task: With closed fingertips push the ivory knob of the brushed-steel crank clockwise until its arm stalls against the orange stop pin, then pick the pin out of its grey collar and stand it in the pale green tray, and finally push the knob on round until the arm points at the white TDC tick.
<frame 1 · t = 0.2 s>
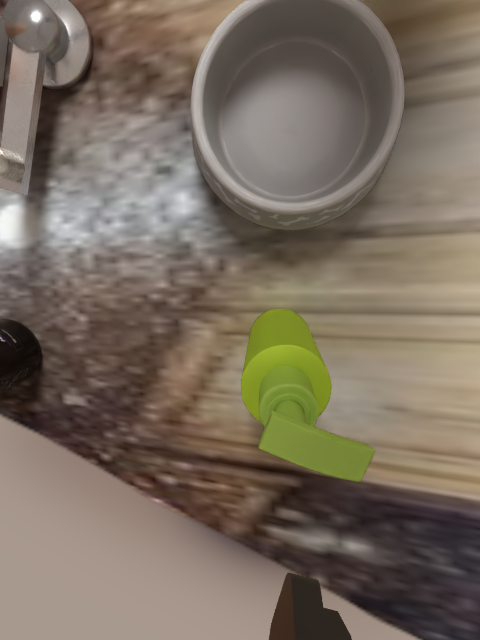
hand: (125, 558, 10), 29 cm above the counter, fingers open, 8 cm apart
dog bowl: (291, 125, 34), on the counter
supplement bottle: (12, 348, 40), on the counter
crank flange: (54, 45, 34), on the counter
soap dispenser: (284, 339, 38), on the counter
crank: (4, 88, 29), point 5 cm above the counter, hinge at 0.0°
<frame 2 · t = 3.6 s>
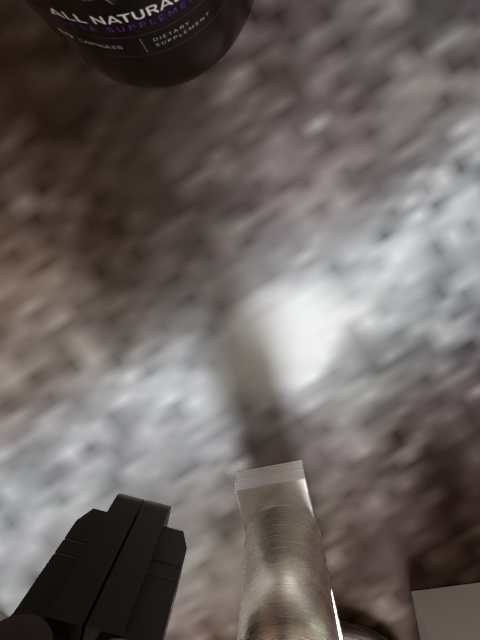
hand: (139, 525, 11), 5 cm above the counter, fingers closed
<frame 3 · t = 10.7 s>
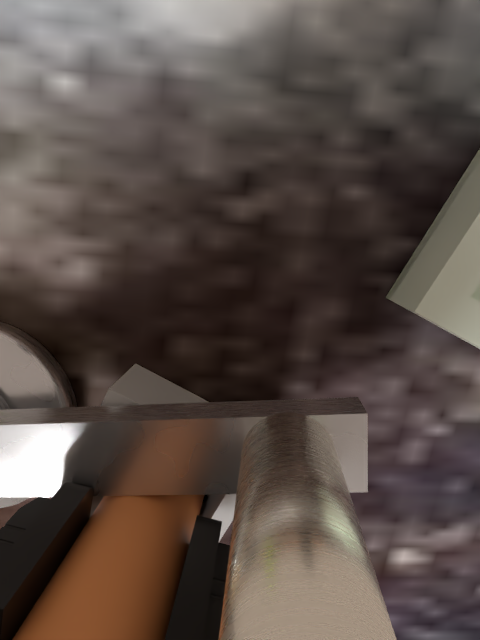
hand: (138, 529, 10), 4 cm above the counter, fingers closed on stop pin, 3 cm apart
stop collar: (169, 454, 14), on the counter
crank: (43, 507, 8), point 5 cm above the counter, hinge at 58.1°, touching gripper
stop pin: (109, 606, 9), in the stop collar, touching gripper
when the fingers open (6 cm above the counter, at t = 15.2 s): stop pin drops 1 cm, resting on tray.
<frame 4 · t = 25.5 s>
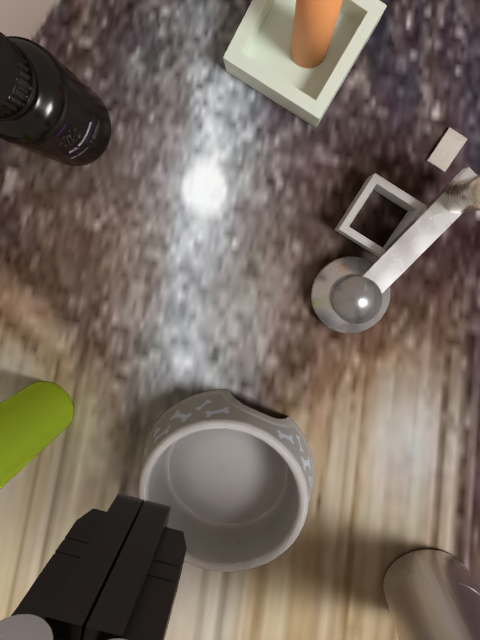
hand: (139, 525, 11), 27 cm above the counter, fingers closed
dog bowl: (228, 466, 41), on the counter
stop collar: (375, 219, 34), on the counter
supplement bottle: (78, 127, 34), on the counter
crank flange: (348, 294, 36), on the counter
soap dispenser: (45, 410, 41), on the counter
tray: (300, 48, 32), on the counter
crank: (414, 251, 29), point 5 cm above the counter, hinge at 100.5°
stop pin: (317, 5, 26), in the tray
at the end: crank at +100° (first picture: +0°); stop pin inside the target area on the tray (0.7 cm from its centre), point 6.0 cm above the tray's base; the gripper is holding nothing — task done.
